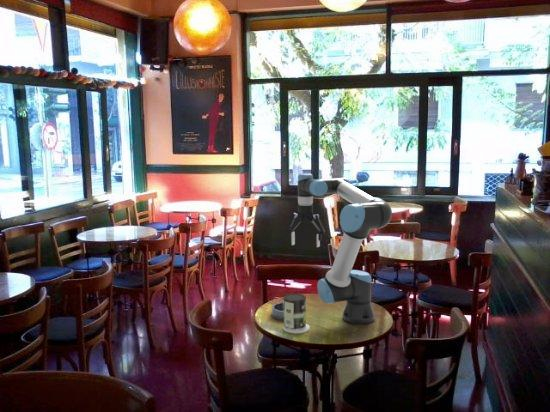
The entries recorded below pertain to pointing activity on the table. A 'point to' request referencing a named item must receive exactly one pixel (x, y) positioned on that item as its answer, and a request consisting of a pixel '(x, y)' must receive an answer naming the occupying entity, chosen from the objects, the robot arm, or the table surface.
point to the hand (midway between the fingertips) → (305, 245)
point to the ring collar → (278, 310)
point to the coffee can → (294, 311)
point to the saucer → (298, 330)
